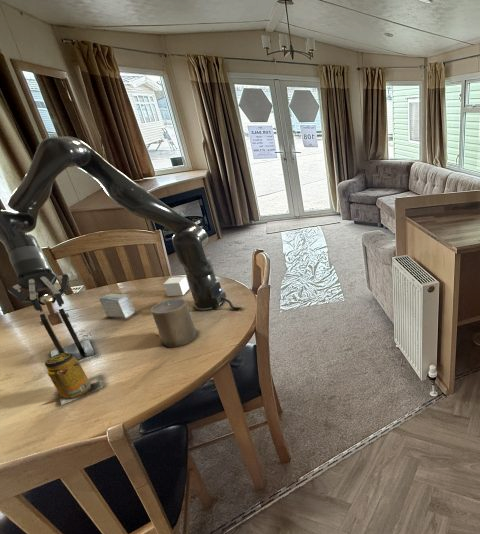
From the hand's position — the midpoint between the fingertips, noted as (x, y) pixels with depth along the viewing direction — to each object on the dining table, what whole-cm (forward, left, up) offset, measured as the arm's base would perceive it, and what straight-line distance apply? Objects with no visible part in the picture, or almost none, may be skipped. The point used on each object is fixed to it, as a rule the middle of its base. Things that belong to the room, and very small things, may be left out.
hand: (51, 307), depth 108 cm
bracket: (-7, +5, -14) cm, 17 cm away
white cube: (-9, -38, -15) cm, 41 cm away
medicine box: (-2, -18, -15) cm, 23 cm away
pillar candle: (-34, -6, -15) cm, 37 cm away
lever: (-2, +2, -1) cm, 3 cm away
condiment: (-24, +19, -15) cm, 34 cm away
